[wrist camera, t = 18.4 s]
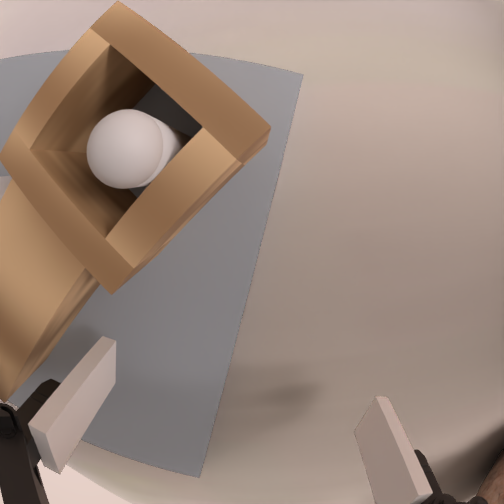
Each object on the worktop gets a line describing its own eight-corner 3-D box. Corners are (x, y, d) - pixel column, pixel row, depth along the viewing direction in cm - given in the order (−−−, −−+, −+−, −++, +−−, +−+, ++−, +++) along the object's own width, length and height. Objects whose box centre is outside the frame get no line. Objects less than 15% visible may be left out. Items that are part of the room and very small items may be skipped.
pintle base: (-6, 67, 13) (-93, 47, 4) (299, 83, 13) (344, -13, 5) (-11, 374, 19) (-63, 425, 10) (202, 463, 20) (185, 556, 11)
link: (159, 48, 12) (117, 0, 7) (266, 144, 13) (271, 126, 8) (-8, 297, 15) (-56, 326, 10) (58, 373, 16) (20, 419, 11)
